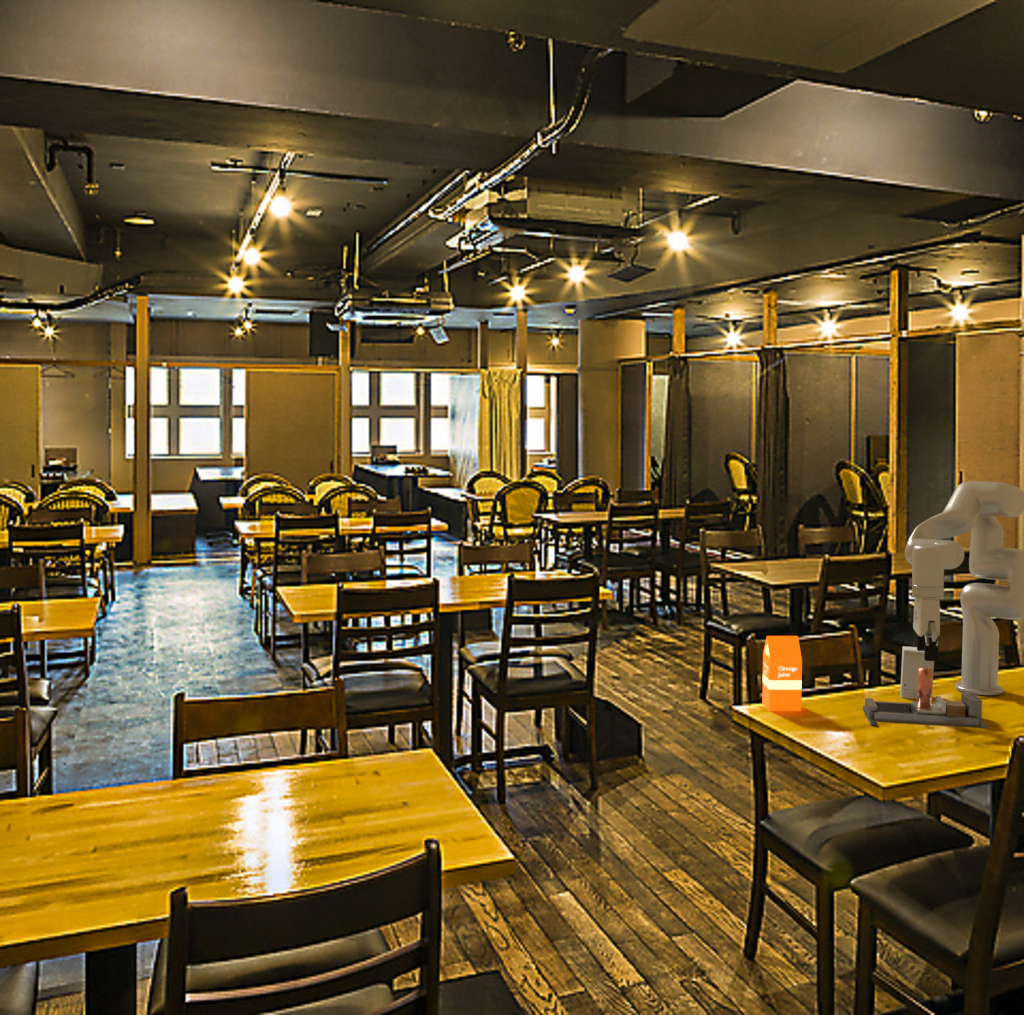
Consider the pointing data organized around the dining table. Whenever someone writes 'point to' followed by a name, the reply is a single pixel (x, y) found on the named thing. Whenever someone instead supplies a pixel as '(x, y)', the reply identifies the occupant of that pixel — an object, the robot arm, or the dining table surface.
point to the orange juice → (782, 674)
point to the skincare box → (912, 671)
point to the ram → (927, 696)
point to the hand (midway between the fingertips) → (927, 655)
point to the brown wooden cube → (955, 708)
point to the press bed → (903, 714)
